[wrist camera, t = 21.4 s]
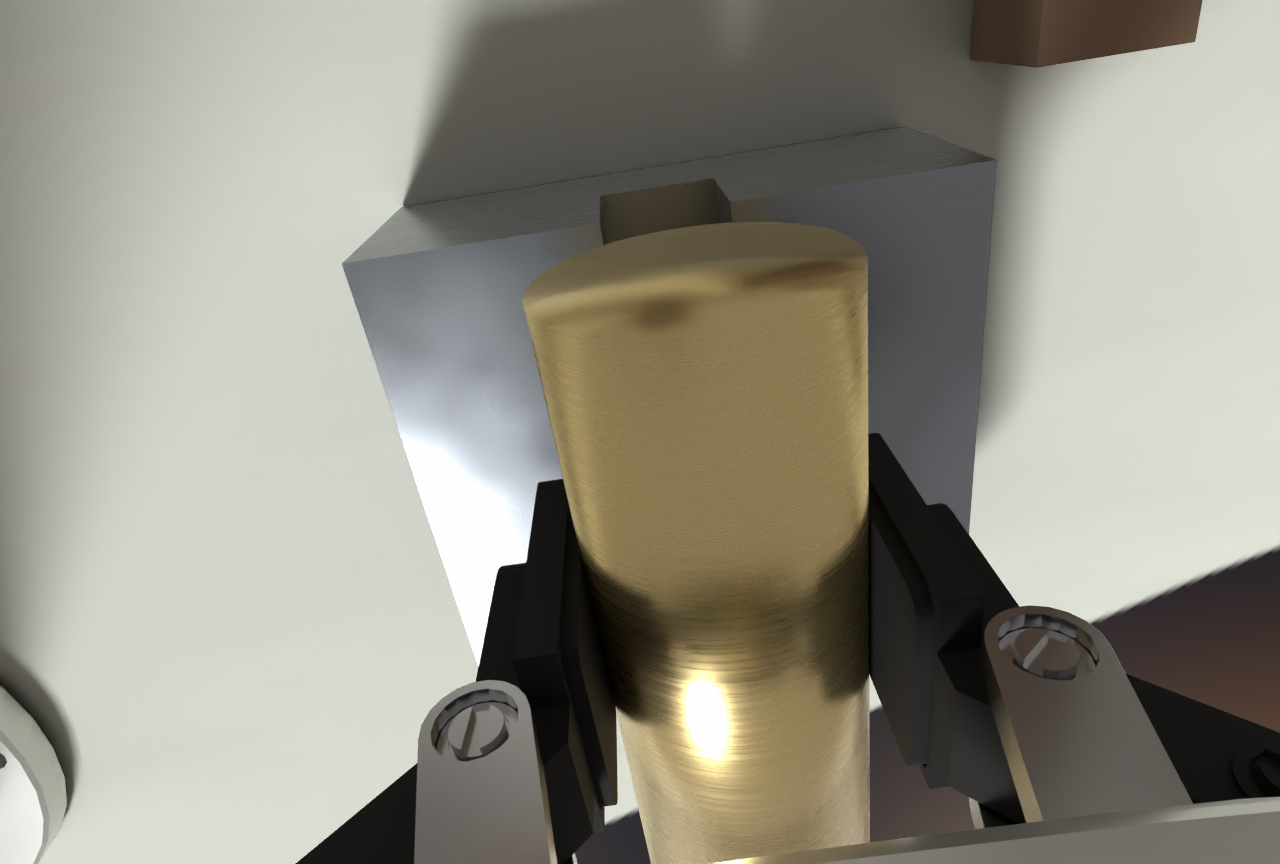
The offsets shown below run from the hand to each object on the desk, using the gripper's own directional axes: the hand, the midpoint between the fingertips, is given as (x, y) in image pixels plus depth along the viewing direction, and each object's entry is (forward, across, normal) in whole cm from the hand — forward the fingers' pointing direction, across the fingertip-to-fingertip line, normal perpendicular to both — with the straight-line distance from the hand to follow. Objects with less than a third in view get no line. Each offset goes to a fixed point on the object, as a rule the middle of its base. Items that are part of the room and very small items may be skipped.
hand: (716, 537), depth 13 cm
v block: (+6, 0, 0) cm, 6 cm away
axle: (-1, 0, +1) cm, 2 cm away
